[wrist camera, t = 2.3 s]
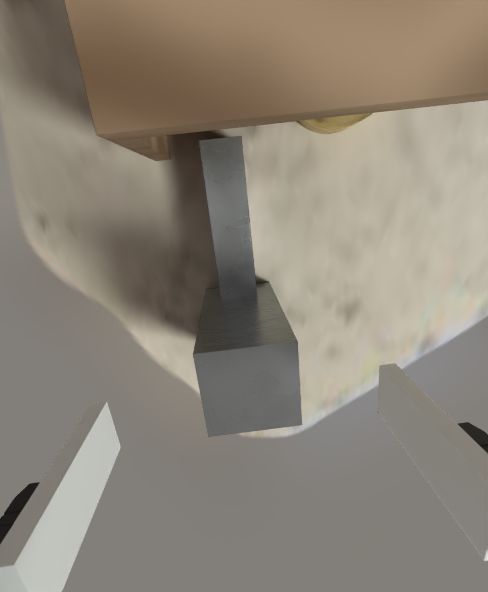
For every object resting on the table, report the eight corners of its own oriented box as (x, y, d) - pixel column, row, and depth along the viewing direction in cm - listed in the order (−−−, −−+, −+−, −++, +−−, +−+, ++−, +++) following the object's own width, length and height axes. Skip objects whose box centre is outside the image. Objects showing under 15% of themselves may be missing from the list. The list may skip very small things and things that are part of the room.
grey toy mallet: (184, 149, 20) (147, 113, 11) (257, 141, 20) (284, 98, 11) (214, 345, 25) (208, 436, 16) (273, 338, 25) (302, 425, 16)
